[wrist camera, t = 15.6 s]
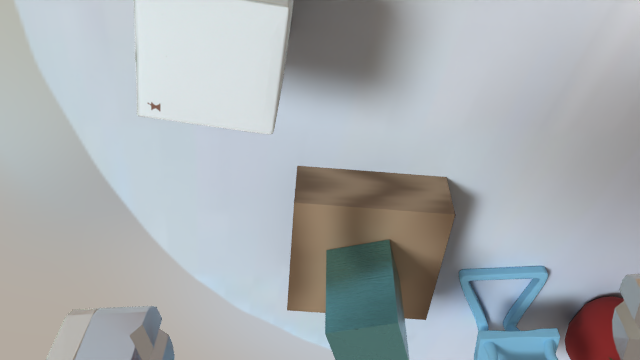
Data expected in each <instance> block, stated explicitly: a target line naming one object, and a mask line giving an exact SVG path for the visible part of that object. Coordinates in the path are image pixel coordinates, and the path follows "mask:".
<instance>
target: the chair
mask: <svg viewBox="0 0 640 360" xmlns="http://www.w3.org/2000/svg"><path fill="white" fill-rule="evenodd" d="M531 278H533V279H532V281H531V282H530V283H529V285H528V286H527V287H526V289H525V290H524V291H523V293H522V294H521V295H520V297H519V298H518V300H517V301H516V302H515V304H514V305H513V306H512V308H511V309H510V311H509V312H508V314H507V316H506V317H505V319H504V322H503V325H504V329H505V331H495V330H492V331H488V330H489V328H488V324H487V320H486V317H485V314H484V312H483V309H482V307H481V305H480V303H479V301H478V299H477V297H476V295H475V293H474V290H473V288H472V286H471V284H470V282H469V281H472V280H502V279H531ZM547 278H548V273H547V271H546V268H545V267H544V266H529V267H506V268H484V269H463V270H461V271H460V272H459V279H460V283H461V287H462V289H463V292H464V294H465V297H466V299H467V301H468V303H469V306H470V308H471V310H472V312H473V315H474V317H475V320H476V323H477V327H478V336H477V342H476V347H475V353H474V360H558V359H557V357H556V354H555V353H556V350H557V347H558V343H559V339H560V335H559V332H558V329H557V328H550V329H536V330H529V331H520V330H519V329H518V328H517V327H516V326H517V324H518V322H519V320H520V319H521V317H522V316H523V314H524V313H525V311H526V310H527V308H528V307H529V306H530V304H531V303H532V301H533V300H534V299H535V297H536V296H537V294H538V293H539V291H540V290H541V288H542V287H543V285H544V284H545V282H546V280H547Z"/></svg>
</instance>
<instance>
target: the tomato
mask: <svg viewBox="0 0 640 360" xmlns="http://www.w3.org/2000/svg"><path fill="white" fill-rule="evenodd" d="M623 301H624V299H623V298H619V297H614V296H613V297H601V298H598V299H595V300H593V301H591V302H589V303H587V304H585V305H584V306H583V307H582V309H581V310H580V311H579V312H578V313H577V315H576V316H575V317H574V318H573V319H572V321H571V322H570V323H569V326H568V330H567V333H566V337H565V345H566V351H567V353H568V355H569V357H570V359H571V360H621V359H620V356H619V354H618V352H617V349H616V346H615V342H614V338H613V328H612V319H613V314H614V310H615V308H616V307H617V306H618V305H619V304H620V303H622V302H623Z"/></svg>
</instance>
